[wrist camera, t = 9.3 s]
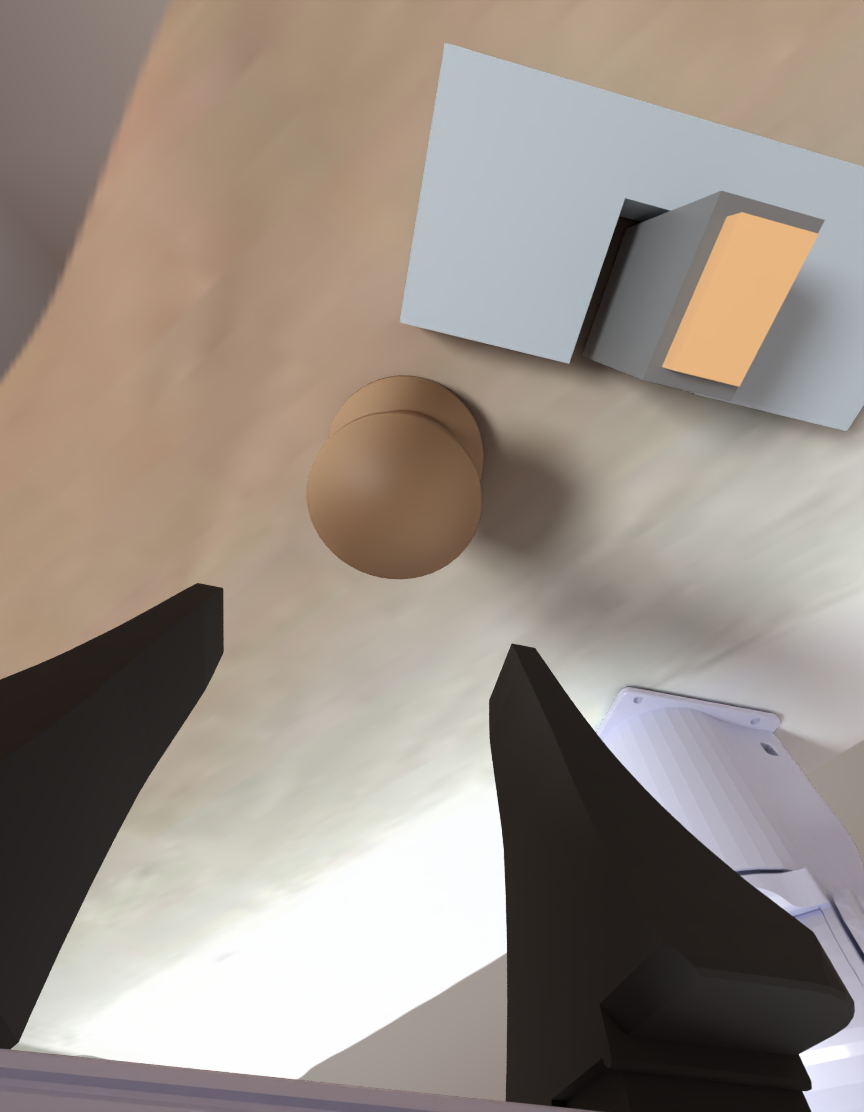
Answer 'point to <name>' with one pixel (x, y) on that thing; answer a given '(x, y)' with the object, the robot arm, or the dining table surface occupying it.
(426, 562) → the tan wooden yo-yo
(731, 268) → the grey rectangular block
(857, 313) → the board
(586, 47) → the dining table surface
